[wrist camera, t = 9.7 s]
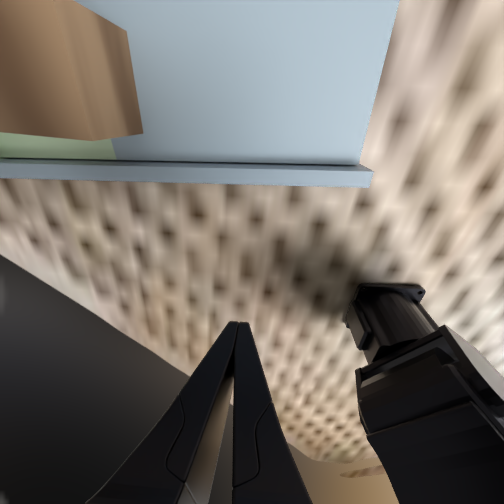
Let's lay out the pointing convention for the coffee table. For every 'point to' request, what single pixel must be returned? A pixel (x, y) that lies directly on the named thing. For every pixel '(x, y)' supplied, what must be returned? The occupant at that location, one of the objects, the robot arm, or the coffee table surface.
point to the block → (65, 73)
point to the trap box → (233, 95)
